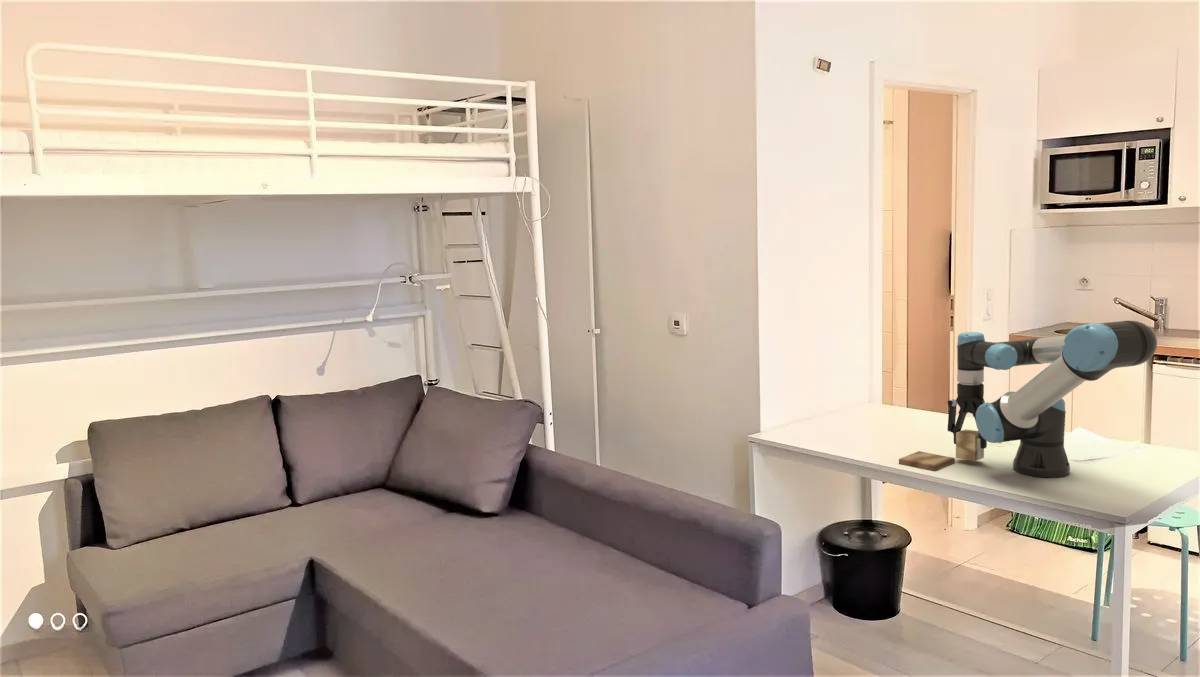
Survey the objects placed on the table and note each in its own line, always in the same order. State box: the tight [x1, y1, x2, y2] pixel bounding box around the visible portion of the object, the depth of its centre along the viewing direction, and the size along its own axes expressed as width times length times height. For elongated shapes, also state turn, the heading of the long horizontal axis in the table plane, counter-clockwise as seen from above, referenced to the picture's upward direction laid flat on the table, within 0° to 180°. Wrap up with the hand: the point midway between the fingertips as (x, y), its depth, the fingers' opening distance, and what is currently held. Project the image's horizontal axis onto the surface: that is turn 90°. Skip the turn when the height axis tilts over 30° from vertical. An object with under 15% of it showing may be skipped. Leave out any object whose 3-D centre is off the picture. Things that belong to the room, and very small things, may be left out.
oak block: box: [955, 428, 980, 462], centre depth 272 cm, size 6×6×8 cm
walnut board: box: [898, 450, 956, 472], centre depth 273 cm, size 12×12×2 cm
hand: (969, 456), depth 272 cm, fingers closed on oak block, 6 cm apart
